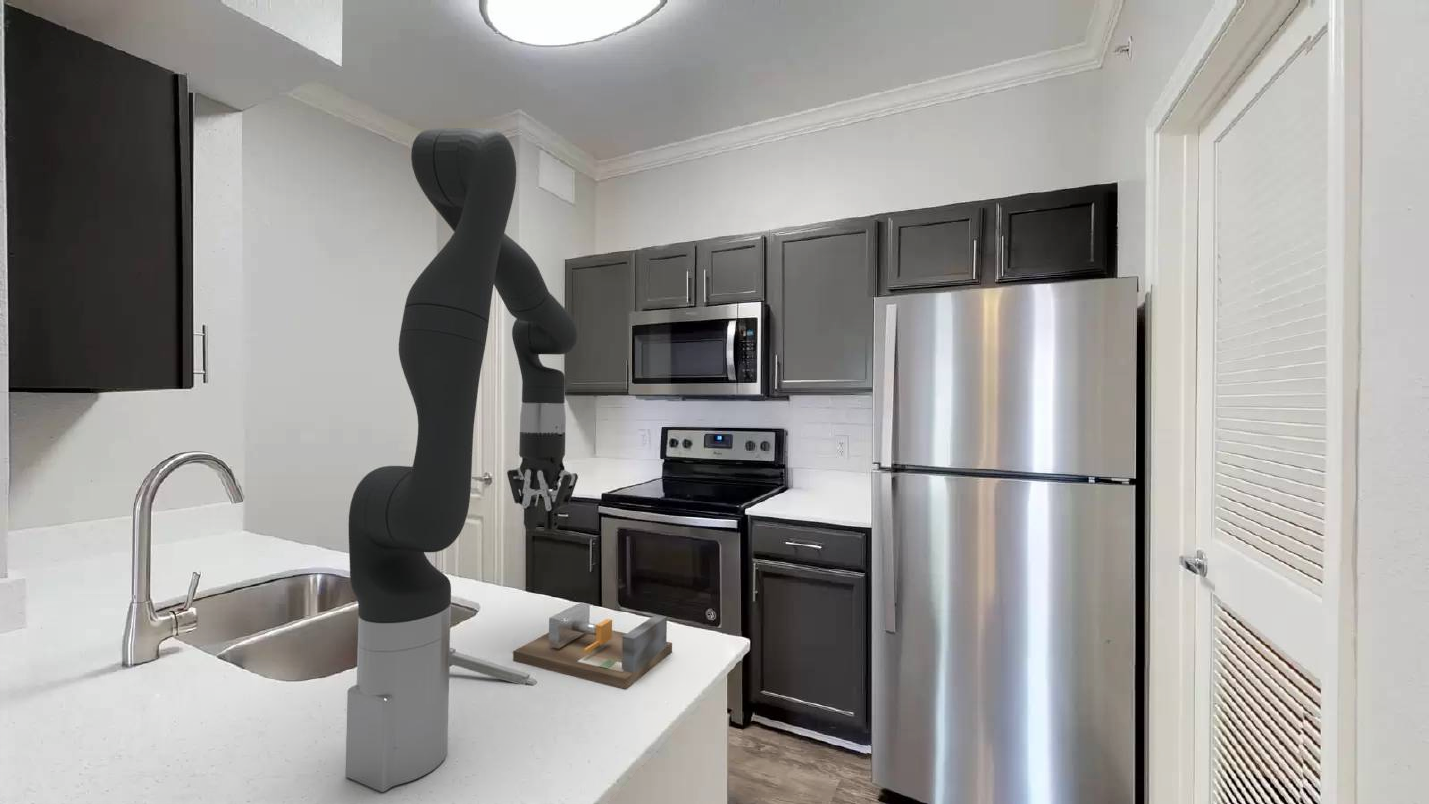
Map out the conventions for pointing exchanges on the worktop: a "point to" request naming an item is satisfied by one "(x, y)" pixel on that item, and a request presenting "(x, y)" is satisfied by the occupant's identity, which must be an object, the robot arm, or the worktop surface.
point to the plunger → (570, 625)
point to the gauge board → (603, 654)
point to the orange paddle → (601, 634)
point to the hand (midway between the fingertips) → (540, 530)
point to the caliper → (489, 668)
